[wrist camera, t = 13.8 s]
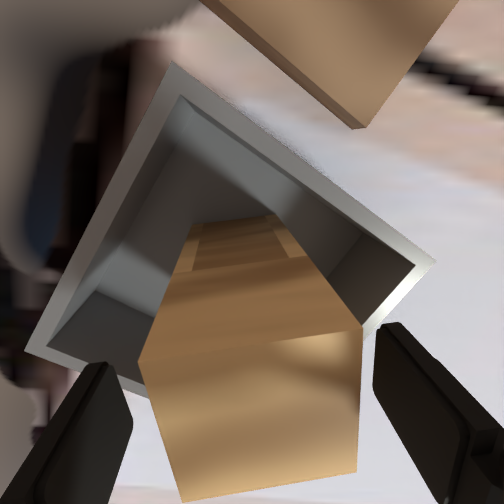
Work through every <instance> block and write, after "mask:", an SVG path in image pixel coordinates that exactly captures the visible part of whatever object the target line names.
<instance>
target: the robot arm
mask: <svg viewBox="0 0 504 504" xmlns="http://www.w3.org/2000/svg"><path fill="white" fill-rule="evenodd" d="M372 386H373V391H374V394H375V396H376V398H377V400H378V401H379V403H380V405H381V407H382V408H383V410H384V412H385V413H386V415H387V417H388V419H389V420H390V422H391V424H392V426H393V427H394V429H395V431H396V433H397V434H398V436H399V438H400V439H401V441H402V443H403V445H404V446H405V448H406V450H407V452H408V453H409V455H410V457H411V459H412V460H413V462H414V464H415V465H416V467H417V469H418V471H419V472H420V474H421V476H422V478H423V479H424V481H425V483H426V485H427V486H428V488H429V490H430V491H431V493H432V495H433V497H434V498H435V500H436V501H437V502H438V504H504V428H503V427H502V426H501V425H500V424H499V423H498V422H497V421H496V420H495V419H494V418H493V417H492V416H491V415H490V414H489V413H488V412H487V411H486V410H485V409H484V407H483V406H482V405H481V404H480V403H479V402H478V401H477V400H476V399H475V398H474V397H473V396H472V395H471V394H470V393H469V392H468V391H467V390H466V389H465V388H464V387H463V386H462V385H461V384H460V382H459V381H458V380H457V379H456V378H455V377H454V376H453V375H452V374H451V373H450V372H449V371H448V370H447V369H446V368H445V367H444V366H443V365H442V364H441V363H440V362H439V361H438V360H437V359H435V358H434V357H433V356H432V355H431V354H430V353H429V352H428V351H427V350H426V349H425V348H424V347H423V346H422V345H421V344H420V343H419V342H418V341H417V340H416V339H415V337H414V336H413V335H412V334H411V333H410V332H409V331H408V330H407V329H406V328H405V327H404V326H403V325H402V324H401V323H400V322H394V323H386V324H382V325H381V327H380V329H377V331H376V343H375V356H374V370H373V383H372ZM132 430H133V418H132V415H131V413H130V410H129V407H128V404H127V402H126V399H125V396H124V393H123V391H122V388H121V385H120V383H119V380H118V377H117V374H116V372H115V369H114V367H113V365H109V364H108V362H106V361H103V362H96V363H89V364H87V365H86V366H85V367H84V369H83V370H82V372H81V374H80V375H79V377H78V378H77V380H76V381H75V383H74V384H73V386H72V388H71V389H70V391H69V392H68V394H67V395H66V397H65V399H64V400H63V402H62V403H61V405H60V406H59V408H58V409H57V411H56V413H55V414H54V416H53V417H52V419H51V420H50V422H49V423H48V425H47V427H46V428H45V430H44V431H43V433H42V434H41V436H40V437H39V439H38V441H37V442H36V444H35V445H34V447H33V448H32V450H31V452H30V453H29V455H28V456H27V458H26V460H25V461H24V462H23V464H22V466H21V467H20V469H19V470H18V472H17V473H16V475H15V476H14V478H13V480H12V481H11V483H10V484H9V486H8V487H7V489H6V490H5V492H4V494H3V495H2V497H1V498H0V504H108V502H109V499H110V496H111V493H112V490H113V487H114V484H115V481H116V478H117V475H118V472H119V469H120V466H121V463H122V460H123V457H124V454H125V451H126V448H127V445H128V442H129V439H130V436H131V433H132Z"/></svg>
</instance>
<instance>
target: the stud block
mask: <svg viewBox="0 0 504 504" xmlns="http://www.w3.org/2000/svg"><path fill="white" fill-rule="evenodd" d="M199 1H201V2H202V3H203V4H204V5H205V6H207V7H208V8H209V9H210V10H211V11H212V12H214V13H215V14H216V15H217V16H218V17H220V18H221V19H222V20H223V21H224V22H225V23H227V24H228V25H229V26H230V27H231V28H233V29H234V30H235V31H236V32H237V33H239V34H240V35H241V36H242V37H243V38H244V39H246V40H247V41H248V42H249V43H250V44H252V45H253V46H254V47H255V48H256V49H257V50H259V51H260V52H261V53H262V54H263V55H265V56H266V57H267V58H268V59H269V60H270V61H272V62H273V63H274V64H275V65H276V66H278V67H279V68H280V69H281V70H282V71H284V72H285V73H286V74H287V75H288V76H289V77H291V78H292V79H293V80H294V81H295V82H297V83H298V84H299V85H300V86H301V87H302V88H304V89H305V90H306V91H307V92H308V93H310V94H311V95H312V96H313V97H314V98H315V99H317V100H318V101H319V102H320V103H321V104H323V105H324V106H325V107H326V108H327V109H329V110H330V111H331V112H332V113H333V114H334V115H336V116H337V117H338V118H339V119H340V120H342V121H343V122H344V123H345V124H346V125H347V126H349V127H350V128H351V129H360V128H366V127H367V126H368V125H369V123H370V122H371V120H372V119H373V118H374V116H375V115H376V114H377V112H378V111H379V109H380V108H381V107H382V105H383V104H384V103H385V101H386V100H387V99H388V97H389V96H390V94H391V93H392V92H393V90H394V89H395V88H396V86H397V85H398V83H399V82H400V81H401V79H402V78H403V77H404V75H405V74H406V72H407V71H408V70H409V68H410V67H411V66H412V64H413V63H414V61H415V60H416V59H417V57H418V56H419V55H420V53H421V52H422V51H423V49H424V48H425V46H426V45H427V44H428V42H429V41H430V40H431V38H432V37H433V35H434V34H435V33H436V31H437V30H438V29H439V27H440V26H441V24H442V23H443V22H444V20H445V19H446V18H447V16H448V15H449V13H450V12H451V11H452V9H453V8H454V7H455V5H456V4H457V3H458V1H459V0H199Z"/></svg>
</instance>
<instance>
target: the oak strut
mask: <svg viewBox="0 0 504 504" xmlns="http://www.w3.org/2000/svg"><path fill="white" fill-rule="evenodd" d="M362 348H363V327H362V326H361V325H360V323H359V322H358V321H357V319H356V318H355V317H354V315H353V314H352V313H351V312H350V310H349V309H348V308H347V306H346V305H345V304H344V302H343V301H342V300H341V298H340V297H339V296H338V295H337V293H336V292H335V291H334V289H333V288H332V287H331V285H330V284H329V283H328V281H327V280H326V279H325V278H324V276H323V275H322V274H321V272H320V271H319V270H318V268H317V267H316V266H315V264H314V263H313V262H312V261H311V259H310V258H309V257H308V255H307V254H306V253H305V251H304V250H303V249H302V247H301V246H300V245H299V244H298V242H297V241H296V240H295V238H294V237H293V236H292V234H291V233H290V232H289V230H288V229H287V228H286V226H285V225H284V224H283V223H282V221H281V220H280V219H279V217H278V216H277V215H276V214H274V215H266V216H258V217H250V218H242V219H234V220H226V221H218V222H210V223H202V224H194V225H192V226H191V228H190V231H189V233H188V236H187V238H186V241H185V243H184V246H183V249H182V251H181V254H180V256H179V259H178V261H177V264H176V266H175V269H174V271H173V274H172V276H171V279H170V281H169V284H168V287H167V289H166V292H165V294H164V297H163V299H162V302H161V304H160V307H159V309H158V312H157V314H156V317H155V319H154V322H153V324H152V327H151V330H150V332H149V335H148V337H147V340H146V342H145V345H144V347H143V350H142V352H141V355H140V357H139V360H138V365H139V368H140V371H141V374H142V377H143V381H144V384H145V387H146V390H147V393H148V396H149V399H150V402H151V406H152V409H153V412H154V415H155V418H156V421H157V424H158V428H159V431H160V434H161V437H162V440H163V443H164V446H165V450H166V453H167V456H168V459H169V462H170V465H171V468H172V472H173V475H174V478H175V481H176V484H177V487H178V490H179V493H180V497H181V500H182V503H184V502H190V501H196V500H201V499H207V498H213V497H218V496H224V495H230V494H235V493H241V492H247V491H253V490H258V489H264V488H270V487H275V486H281V485H287V484H292V483H298V482H304V481H309V480H315V479H321V478H327V477H332V476H338V475H344V474H349V473H355V472H357V452H358V431H359V411H360V390H361V369H362Z"/></svg>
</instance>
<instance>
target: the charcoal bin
mask: <svg viewBox="0 0 504 504" xmlns="http://www.w3.org/2000/svg"><path fill="white" fill-rule="evenodd" d="M274 214H276V215H277V216H278V217H279V219H280V220H281V221H282V223H283V224H284V225H285V226H286V228H287V229H288V230H289V232H290V233H291V234H292V236H293V237H294V238H295V240H296V241H297V242H298V244H299V245H300V246H301V247H302V249H303V250H304V251H305V253H306V254H307V255H308V257H309V258H310V259H311V261H312V262H313V263H314V264H315V266H316V267H317V268H318V270H319V271H320V272H321V274H322V275H323V276H324V278H325V279H326V280H327V281H328V283H329V284H330V285H331V287H332V288H333V289H334V291H335V292H336V293H337V295H338V296H339V297H340V298H341V300H342V301H343V302H344V304H345V305H346V306H347V308H348V309H349V310H350V312H351V313H352V314H353V315H354V317H355V318H356V319H357V321H358V322H359V323H360V325H361V326H362V327H363V341H364V340H365V339H366V338H367V337H368V335H369V334H370V333H371V332H372V331H373V330H374V329H375V328H376V327H377V326H378V324H379V323H380V322H381V321H382V320H383V319H384V318H385V317H386V316H387V315H388V314H389V312H390V311H391V310H392V309H393V308H394V307H395V306H396V305H397V304H398V303H399V302H400V300H401V299H402V298H403V297H404V296H405V295H406V294H407V293H408V292H409V291H410V289H411V288H412V287H413V286H414V285H415V284H416V283H417V282H418V281H419V280H420V279H421V277H422V276H423V275H424V274H425V273H426V272H427V271H428V270H429V269H430V268H431V266H432V265H433V264H434V263H435V262H436V260H435V259H434V258H432V257H431V256H430V255H428V254H427V253H426V252H424V251H423V250H422V249H420V248H419V247H418V246H416V245H415V244H414V243H412V242H411V241H410V240H408V239H407V238H406V237H405V236H403V235H402V234H401V233H399V232H398V231H397V230H395V229H394V228H393V227H391V226H390V225H389V224H387V223H386V222H385V221H383V220H382V219H381V218H379V217H378V216H377V215H375V214H374V213H373V212H371V211H370V210H369V209H367V208H366V207H365V206H363V205H362V204H361V203H359V202H358V201H357V200H355V199H354V198H353V197H352V196H350V195H349V194H348V193H346V192H345V191H344V190H342V189H341V188H340V187H338V186H337V185H336V184H334V183H333V182H332V181H330V180H329V179H328V178H326V177H325V176H324V175H322V174H321V173H320V172H318V171H317V170H316V169H314V168H313V167H312V166H310V165H309V164H308V163H306V162H305V161H304V160H303V159H301V158H300V157H299V156H297V155H296V154H295V153H293V152H292V151H291V150H289V149H288V148H287V147H285V146H284V145H283V144H281V143H280V142H279V141H277V140H276V139H275V138H273V137H272V136H271V135H269V134H268V133H267V132H265V131H264V130H263V129H261V128H260V127H259V126H257V125H256V124H255V123H253V122H252V121H251V120H250V119H248V118H247V117H246V116H244V115H243V114H242V113H240V112H239V111H238V110H236V109H235V108H234V107H232V106H231V105H230V104H228V103H227V102H226V101H224V100H223V99H222V98H220V97H219V96H218V95H216V94H215V93H214V92H212V91H211V90H210V89H208V88H207V87H206V86H204V85H203V84H202V83H200V82H199V81H198V80H197V79H195V78H194V77H193V76H191V75H190V74H189V73H187V72H186V71H185V70H183V69H182V68H181V67H179V66H178V65H177V64H175V63H174V62H173V61H171V63H170V65H169V67H168V69H167V71H166V73H165V75H164V77H163V79H162V81H161V83H160V85H159V87H158V89H157V91H156V93H155V95H154V97H153V99H152V101H151V103H150V105H149V107H148V109H147V111H146V113H145V114H144V116H143V118H142V120H141V122H140V124H139V126H138V128H137V130H136V132H135V134H134V136H133V138H132V140H131V142H130V144H129V146H128V148H127V150H126V152H125V154H124V156H123V158H122V160H121V162H120V164H119V166H118V168H117V169H116V171H115V173H114V175H113V177H112V179H111V181H110V183H109V185H108V187H107V189H106V191H105V193H104V195H103V197H102V199H101V201H100V203H99V205H98V207H97V209H96V211H95V213H94V215H93V217H92V219H91V221H90V222H89V224H88V226H87V228H86V230H85V232H84V234H83V236H82V238H81V240H80V242H79V244H78V246H77V248H76V250H75V252H74V254H73V256H72V258H71V260H70V262H69V264H68V266H67V268H66V270H65V272H64V274H63V275H62V277H61V279H60V281H59V283H58V285H57V287H56V289H55V291H54V293H53V295H52V297H51V299H50V301H49V303H48V305H47V307H46V309H45V311H44V313H43V315H42V317H41V319H40V321H39V323H38V325H37V327H36V329H35V330H34V332H33V334H32V336H31V338H30V340H29V342H28V344H27V346H26V348H25V350H24V351H26V352H28V353H31V354H33V355H36V356H39V357H41V358H44V359H46V360H49V361H52V362H54V363H57V364H59V365H62V366H65V367H67V368H70V369H73V370H75V371H78V372H80V373H81V372H82V370H83V369H84V367H85V366H86V365H87V364H89V363H96V362H103V361H106V362H108V364H109V365H113V367H114V369H115V372H116V374H117V377H118V380H119V383H120V385H121V388H122V389H125V390H127V391H130V392H132V393H135V394H138V395H140V396H143V397H146V398H148V399H149V396H148V393H147V390H146V387H145V384H144V381H143V377H142V374H141V371H140V368H139V365H138V360H139V357H140V355H141V352H142V350H143V347H144V345H145V342H146V340H147V337H148V335H149V332H150V330H151V327H152V324H153V322H154V319H155V317H156V314H157V312H158V309H159V307H160V304H161V302H162V299H163V297H164V294H165V292H166V289H167V287H168V284H169V281H170V279H171V276H172V274H173V271H174V269H175V266H176V264H177V261H178V259H179V256H180V254H181V251H182V249H183V246H184V243H185V241H186V238H187V236H188V233H189V231H190V228H191V226H192V225H194V224H202V223H210V222H218V221H226V220H234V219H242V218H250V217H258V216H266V215H274Z"/></svg>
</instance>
